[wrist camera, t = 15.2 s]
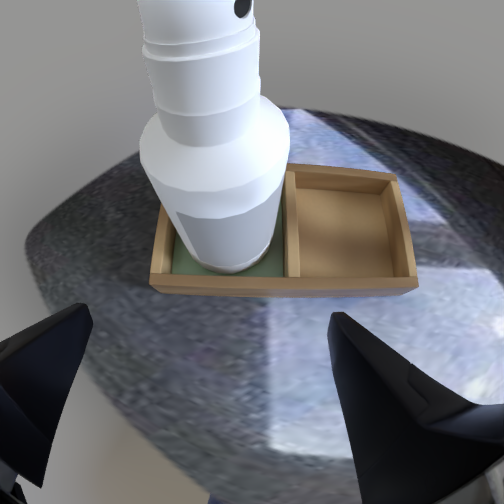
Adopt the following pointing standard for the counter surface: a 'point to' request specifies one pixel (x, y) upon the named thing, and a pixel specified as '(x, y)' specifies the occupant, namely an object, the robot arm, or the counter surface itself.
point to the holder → (309, 243)
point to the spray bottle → (212, 130)
